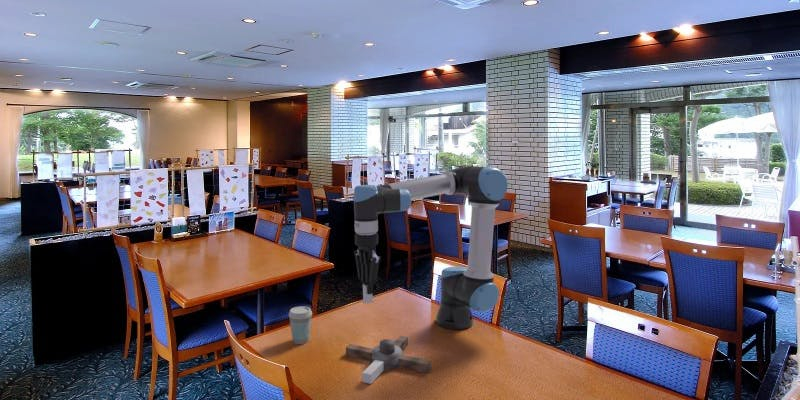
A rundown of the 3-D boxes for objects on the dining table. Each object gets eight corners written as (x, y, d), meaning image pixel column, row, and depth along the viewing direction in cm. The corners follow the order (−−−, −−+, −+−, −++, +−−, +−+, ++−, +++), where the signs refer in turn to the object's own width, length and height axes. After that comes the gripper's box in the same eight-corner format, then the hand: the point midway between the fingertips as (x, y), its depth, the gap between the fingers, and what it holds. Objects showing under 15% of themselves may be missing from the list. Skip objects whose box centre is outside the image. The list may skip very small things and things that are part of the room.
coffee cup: (307, 347, 162) (306, 315, 161) (285, 344, 164) (284, 313, 162) (316, 337, 170) (315, 306, 169) (295, 335, 172) (294, 304, 171)
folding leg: (375, 368, 146) (375, 359, 146) (383, 370, 145) (383, 361, 145) (362, 381, 138) (362, 372, 138) (371, 383, 137) (371, 374, 137)
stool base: (405, 342, 166) (405, 324, 166) (433, 372, 145) (434, 351, 144) (344, 353, 158) (344, 334, 157) (364, 386, 136) (364, 364, 135)
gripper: (346, 231, 149) (348, 299, 152) (367, 237, 139) (369, 311, 142) (365, 228, 154) (366, 294, 157) (387, 234, 143) (388, 305, 146)
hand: (367, 302), depth 149 cm, fingers closed
